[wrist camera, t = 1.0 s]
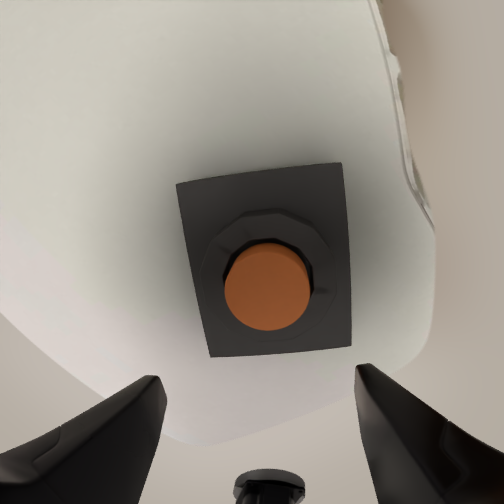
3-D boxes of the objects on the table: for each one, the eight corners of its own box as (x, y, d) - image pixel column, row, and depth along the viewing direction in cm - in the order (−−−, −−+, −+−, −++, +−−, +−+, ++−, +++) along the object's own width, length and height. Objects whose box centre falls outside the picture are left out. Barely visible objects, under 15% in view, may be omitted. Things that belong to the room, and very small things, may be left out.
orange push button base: (345, 329, 21) (356, 362, 17) (216, 340, 22) (203, 374, 18) (335, 162, 18) (348, 162, 14) (186, 181, 19) (163, 186, 15)
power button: (310, 311, 17) (312, 327, 15) (236, 317, 17) (231, 333, 16) (304, 238, 16) (306, 247, 14) (224, 247, 16) (217, 256, 14)
